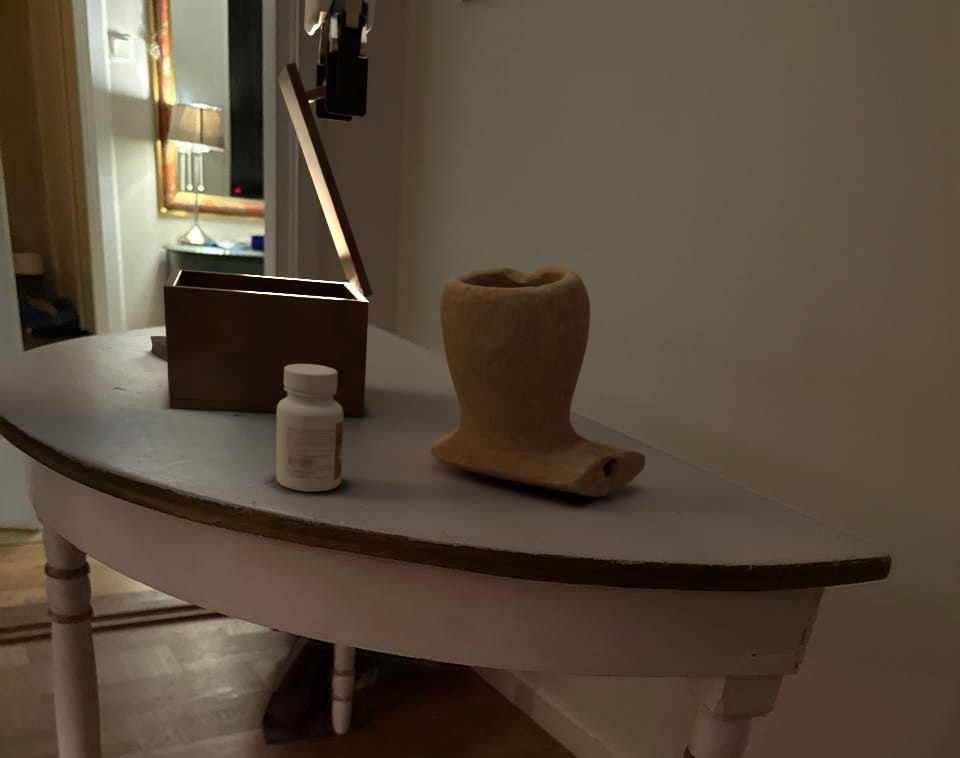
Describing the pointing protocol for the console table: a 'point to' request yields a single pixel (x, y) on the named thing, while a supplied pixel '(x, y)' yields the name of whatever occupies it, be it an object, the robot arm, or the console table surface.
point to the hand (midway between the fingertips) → (339, 117)
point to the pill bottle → (309, 430)
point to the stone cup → (523, 382)
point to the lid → (323, 173)
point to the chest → (260, 338)
